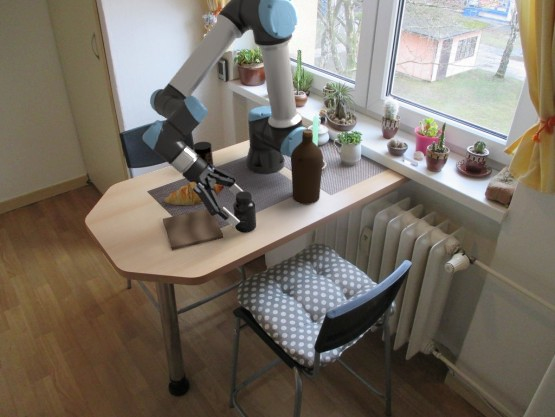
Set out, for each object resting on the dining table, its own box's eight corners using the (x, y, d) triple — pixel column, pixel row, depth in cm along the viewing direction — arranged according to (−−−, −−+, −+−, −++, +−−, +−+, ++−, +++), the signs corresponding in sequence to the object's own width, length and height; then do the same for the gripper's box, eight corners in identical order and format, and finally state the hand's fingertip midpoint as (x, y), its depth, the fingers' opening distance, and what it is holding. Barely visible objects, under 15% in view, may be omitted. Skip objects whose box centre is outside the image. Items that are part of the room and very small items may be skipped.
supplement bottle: (260, 227, 145) (259, 195, 139) (244, 236, 141) (242, 203, 135) (246, 218, 149) (244, 186, 143) (230, 227, 145) (227, 195, 139)
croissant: (168, 217, 157) (167, 205, 150) (160, 193, 161) (159, 181, 154) (227, 202, 164) (229, 190, 157) (218, 179, 168) (219, 166, 161)
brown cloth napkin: (211, 211, 153) (210, 208, 152) (223, 238, 141) (223, 235, 140) (162, 221, 148) (162, 218, 148) (171, 250, 136) (171, 247, 135)
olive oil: (322, 205, 155) (326, 137, 141) (291, 206, 155) (291, 138, 141) (319, 189, 164) (322, 123, 150) (290, 189, 164) (290, 124, 150)
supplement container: (201, 164, 181) (198, 140, 175) (216, 167, 179) (214, 142, 173) (193, 172, 176) (190, 148, 170) (209, 175, 174) (206, 150, 168)
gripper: (195, 153, 147) (243, 196, 153) (167, 193, 127) (223, 241, 133) (209, 139, 144) (258, 184, 150) (183, 178, 123) (240, 228, 129)
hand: (242, 211), depth 141 cm, fingers open, 13 cm apart
